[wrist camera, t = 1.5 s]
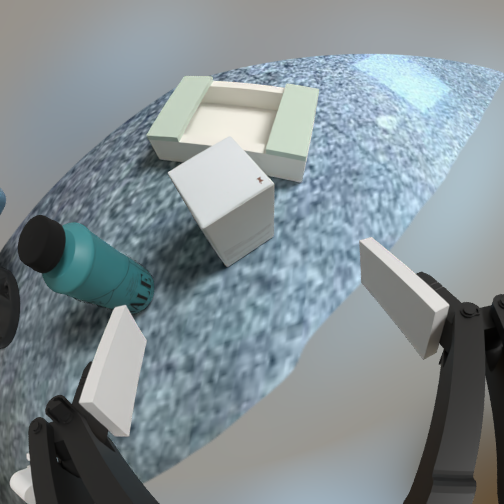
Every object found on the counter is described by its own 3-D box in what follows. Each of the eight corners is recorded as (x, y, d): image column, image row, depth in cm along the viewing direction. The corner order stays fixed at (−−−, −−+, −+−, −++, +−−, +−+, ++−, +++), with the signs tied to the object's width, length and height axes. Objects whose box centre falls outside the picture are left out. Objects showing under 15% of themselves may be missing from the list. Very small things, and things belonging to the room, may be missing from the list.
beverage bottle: (117, 270, 35) (13, 206, 16) (161, 265, 35) (67, 187, 16) (118, 317, 33) (0, 285, 14) (163, 315, 33) (54, 278, 14)
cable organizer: (73, 500, 23) (39, 520, 14) (33, 469, 25) (-2, 480, 15) (74, 482, 25) (37, 501, 15) (33, 450, 26) (-5, 460, 17)
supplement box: (243, 195, 37) (232, 132, 25) (275, 237, 35) (277, 183, 23) (196, 224, 36) (165, 170, 24) (225, 269, 34) (202, 230, 22)
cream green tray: (159, 159, 40) (146, 135, 35) (192, 100, 44) (184, 76, 39) (301, 182, 37) (306, 156, 32) (315, 115, 41) (319, 89, 36)
